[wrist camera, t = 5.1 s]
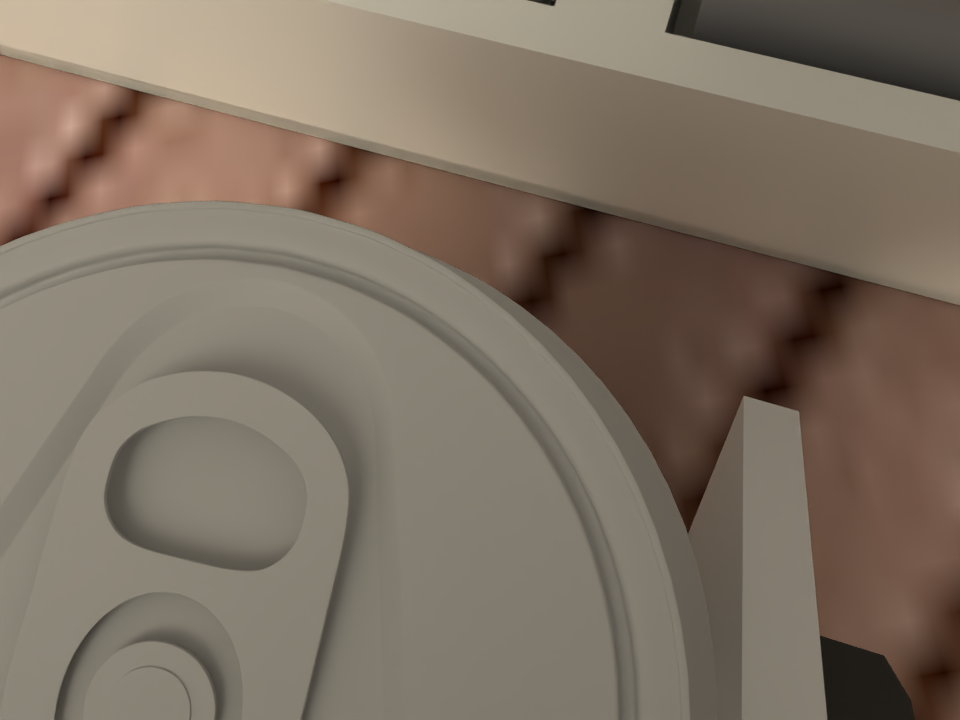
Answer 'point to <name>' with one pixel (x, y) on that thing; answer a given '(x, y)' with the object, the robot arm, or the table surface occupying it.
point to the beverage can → (319, 489)
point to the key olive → (847, 37)
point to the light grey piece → (560, 112)
